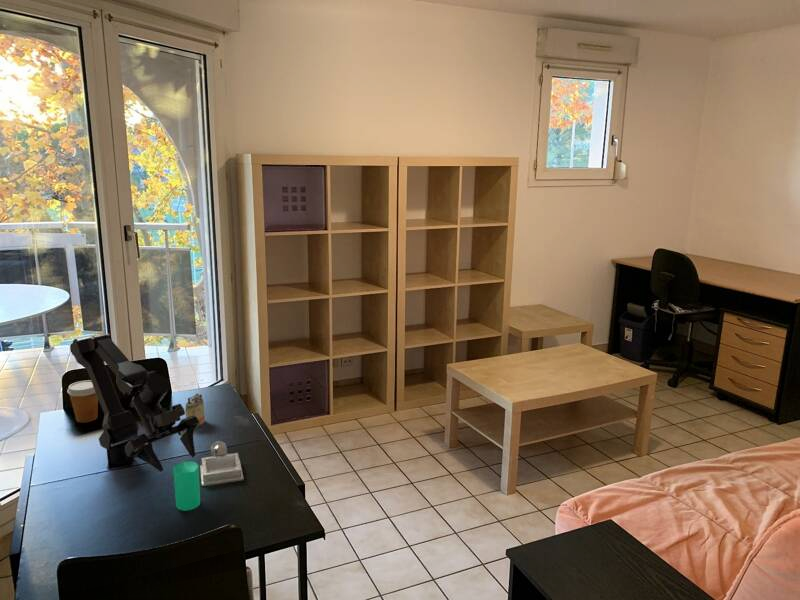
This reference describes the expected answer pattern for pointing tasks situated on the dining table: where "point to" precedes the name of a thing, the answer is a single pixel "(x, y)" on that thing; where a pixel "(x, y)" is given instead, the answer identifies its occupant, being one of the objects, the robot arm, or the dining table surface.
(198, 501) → the candle
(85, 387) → the disposable coffee cup
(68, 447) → the dining table surface
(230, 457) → the white tray
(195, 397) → the lighter
